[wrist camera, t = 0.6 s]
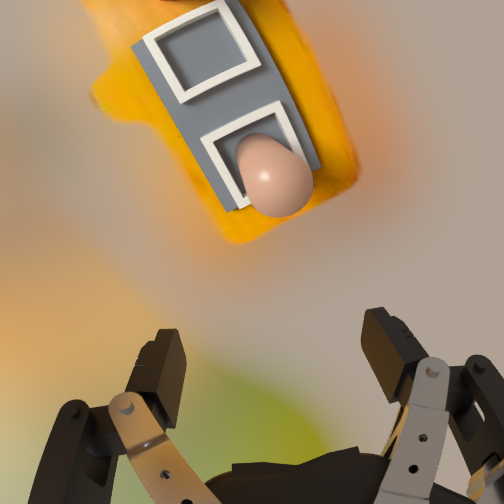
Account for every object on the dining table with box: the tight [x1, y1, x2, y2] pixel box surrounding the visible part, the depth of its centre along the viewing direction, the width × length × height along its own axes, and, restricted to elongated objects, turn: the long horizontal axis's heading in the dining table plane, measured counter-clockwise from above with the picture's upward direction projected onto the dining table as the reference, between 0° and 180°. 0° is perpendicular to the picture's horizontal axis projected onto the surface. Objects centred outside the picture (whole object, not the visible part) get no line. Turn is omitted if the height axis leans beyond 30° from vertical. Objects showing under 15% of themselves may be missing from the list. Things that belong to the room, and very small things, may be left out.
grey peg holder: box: [131, 0, 321, 217], centre depth 23 cm, size 24×13×14 cm, turn 26°
